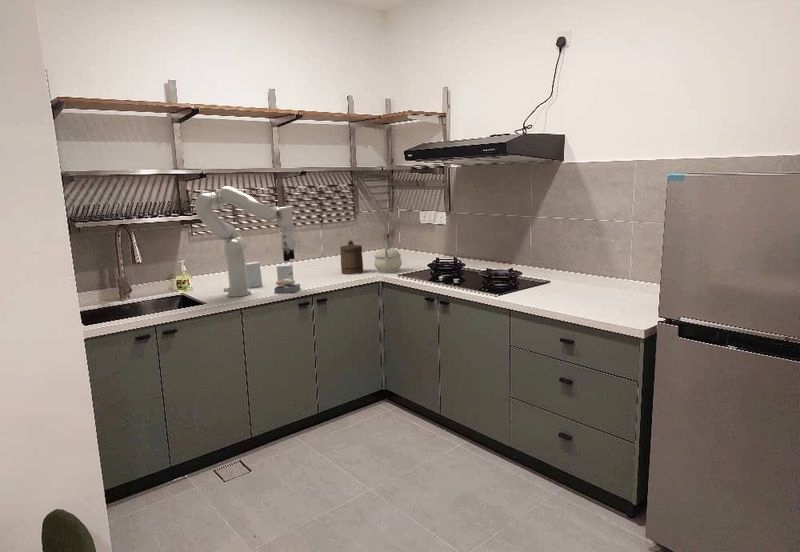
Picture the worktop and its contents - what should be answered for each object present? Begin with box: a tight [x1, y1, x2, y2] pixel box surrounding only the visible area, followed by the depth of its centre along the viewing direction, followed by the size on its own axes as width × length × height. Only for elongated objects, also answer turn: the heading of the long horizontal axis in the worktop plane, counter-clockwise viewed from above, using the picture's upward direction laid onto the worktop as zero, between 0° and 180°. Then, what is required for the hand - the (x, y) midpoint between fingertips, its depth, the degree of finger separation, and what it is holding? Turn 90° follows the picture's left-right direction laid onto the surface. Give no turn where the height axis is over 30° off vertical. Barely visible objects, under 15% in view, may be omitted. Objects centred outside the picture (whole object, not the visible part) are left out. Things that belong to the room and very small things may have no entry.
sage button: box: [288, 279, 296, 284], centre depth 295 cm, size 4×4×2 cm
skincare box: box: [245, 261, 263, 289], centre depth 318 cm, size 8×6×15 cm
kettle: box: [374, 233, 403, 274], centre depth 350 cm, size 25×18×25 cm
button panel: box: [273, 283, 301, 294], centre depth 298 cm, size 11×12×3 cm
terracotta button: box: [275, 280, 283, 286], centre depth 294 cm, size 4×4×2 cm
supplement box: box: [276, 263, 295, 286], centre depth 316 cm, size 7×7×13 cm
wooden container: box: [339, 239, 364, 275], centre depth 355 cm, size 15×15×22 cm
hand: (289, 260), depth 293 cm, fingers open, 8 cm apart
